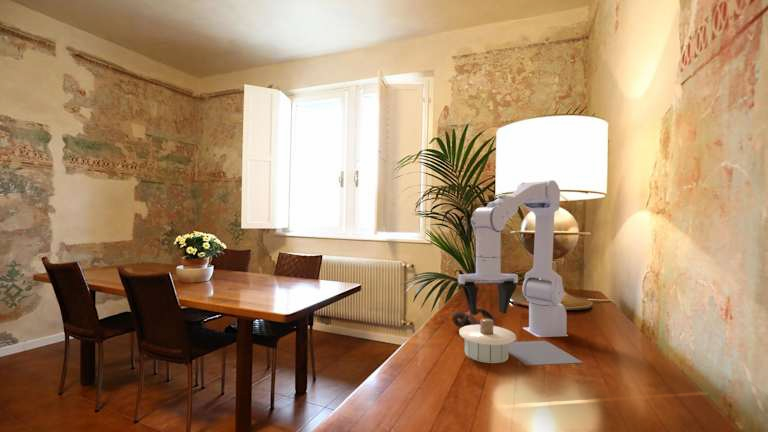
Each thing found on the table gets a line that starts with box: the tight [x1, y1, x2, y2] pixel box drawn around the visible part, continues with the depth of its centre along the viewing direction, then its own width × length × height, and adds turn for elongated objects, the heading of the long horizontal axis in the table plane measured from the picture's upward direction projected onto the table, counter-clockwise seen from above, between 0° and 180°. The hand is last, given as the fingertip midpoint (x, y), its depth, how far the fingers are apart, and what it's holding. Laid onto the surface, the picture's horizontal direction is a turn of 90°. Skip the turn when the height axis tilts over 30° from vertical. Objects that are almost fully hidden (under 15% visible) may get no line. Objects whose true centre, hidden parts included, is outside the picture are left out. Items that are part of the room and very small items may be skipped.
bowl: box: [464, 339, 510, 364], centre depth 82 cm, size 10×10×5 cm
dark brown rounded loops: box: [451, 306, 496, 330], centre depth 98 cm, size 12×10×8 cm
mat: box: [509, 340, 584, 366], centre depth 83 cm, size 14×14×1 cm
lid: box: [458, 318, 517, 345], centre depth 82 cm, size 13×13×4 cm
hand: (487, 312), depth 82 cm, fingers open, 7 cm apart
